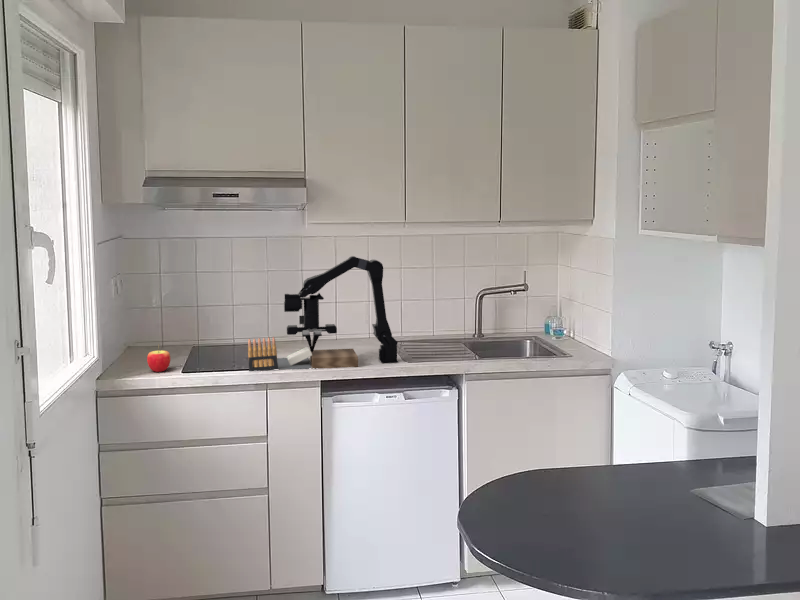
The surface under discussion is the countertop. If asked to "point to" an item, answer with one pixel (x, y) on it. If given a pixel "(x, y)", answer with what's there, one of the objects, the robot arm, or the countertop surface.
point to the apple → (158, 360)
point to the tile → (299, 355)
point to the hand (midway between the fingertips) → (311, 351)
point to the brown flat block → (334, 358)
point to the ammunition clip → (262, 355)
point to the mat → (285, 364)
